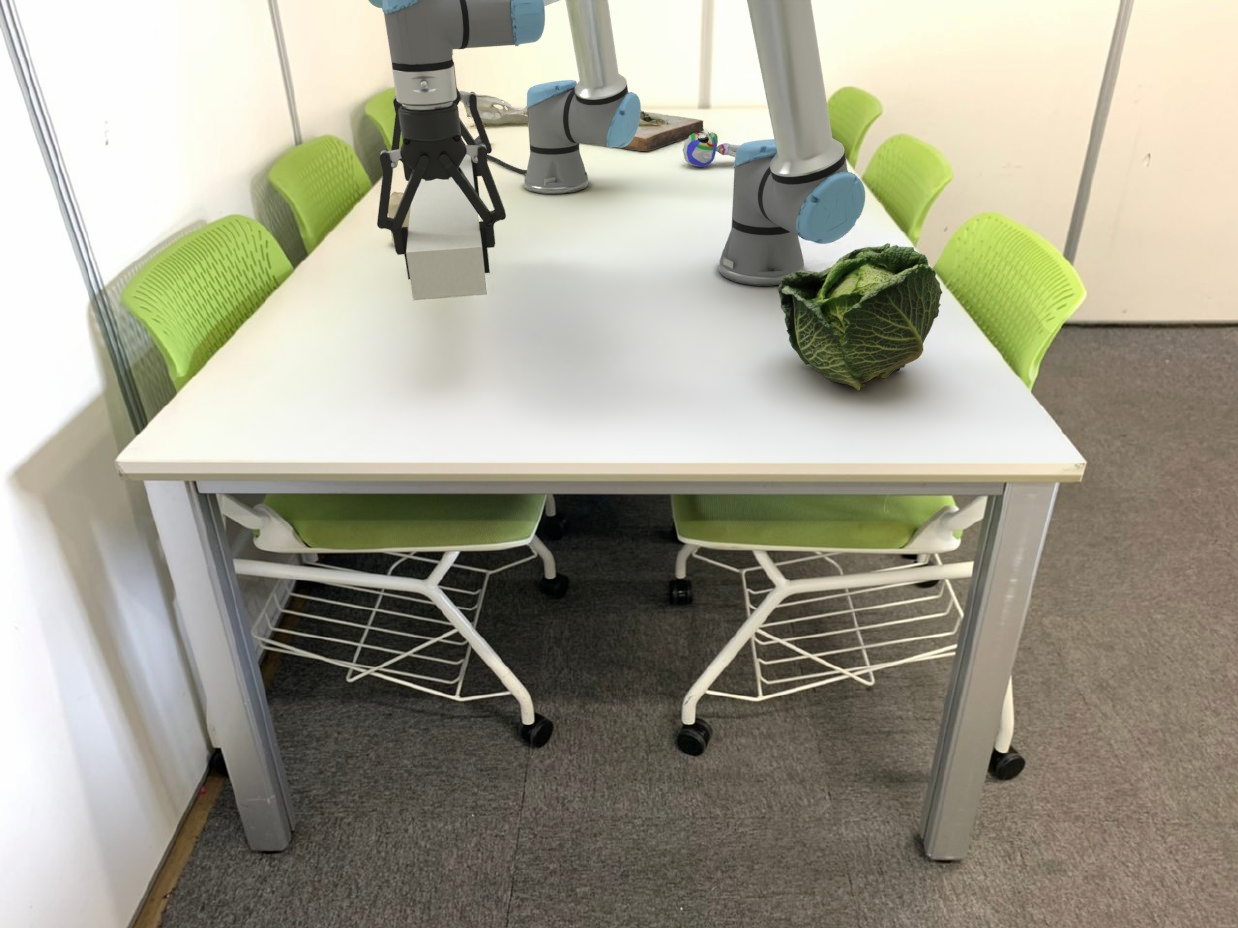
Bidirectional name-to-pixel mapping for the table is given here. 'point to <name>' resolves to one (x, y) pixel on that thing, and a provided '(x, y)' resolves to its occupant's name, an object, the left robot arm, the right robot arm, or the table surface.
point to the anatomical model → (497, 111)
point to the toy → (705, 149)
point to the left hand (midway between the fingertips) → (447, 197)
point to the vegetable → (862, 313)
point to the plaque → (662, 130)
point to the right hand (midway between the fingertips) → (449, 273)
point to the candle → (393, 207)
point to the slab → (445, 241)
